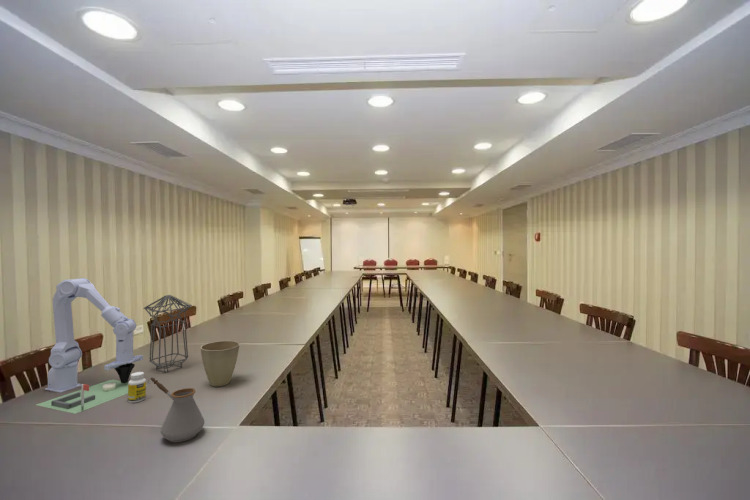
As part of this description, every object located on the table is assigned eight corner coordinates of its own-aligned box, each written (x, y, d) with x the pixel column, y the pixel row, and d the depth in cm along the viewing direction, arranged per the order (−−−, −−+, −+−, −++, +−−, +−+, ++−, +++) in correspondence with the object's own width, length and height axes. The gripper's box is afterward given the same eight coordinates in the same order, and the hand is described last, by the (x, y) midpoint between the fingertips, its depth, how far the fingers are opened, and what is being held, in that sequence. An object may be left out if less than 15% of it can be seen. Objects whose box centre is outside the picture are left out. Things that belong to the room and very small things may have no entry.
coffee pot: (212, 430, 105) (213, 381, 105) (177, 450, 95) (178, 395, 95) (167, 416, 114) (168, 371, 114) (130, 432, 104) (131, 383, 104)
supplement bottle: (136, 403, 124) (136, 376, 124) (124, 402, 125) (124, 375, 125) (149, 397, 129) (149, 371, 129) (137, 396, 130) (137, 370, 130)
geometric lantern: (194, 367, 164) (193, 294, 163) (159, 378, 150) (158, 298, 150) (176, 361, 172) (176, 291, 171) (142, 371, 159) (141, 295, 158)
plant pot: (191, 387, 139) (192, 347, 139) (220, 375, 153) (221, 339, 153) (219, 392, 134) (219, 351, 134) (246, 379, 147) (247, 342, 148)
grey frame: (51, 405, 121) (51, 380, 121) (78, 396, 129) (78, 372, 130) (85, 412, 116) (85, 386, 116) (111, 402, 124) (111, 377, 124)
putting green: (35, 405, 122) (35, 404, 122) (111, 380, 147) (111, 379, 147) (75, 414, 115) (75, 413, 115) (147, 386, 140) (147, 385, 140)
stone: (100, 390, 135) (100, 385, 135) (111, 387, 138) (112, 382, 138) (106, 392, 133) (106, 386, 133) (117, 388, 137) (117, 383, 137)
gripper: (113, 355, 133) (113, 390, 133) (148, 345, 147) (148, 377, 147) (100, 353, 136) (100, 388, 135) (136, 344, 149) (136, 375, 149)
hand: (124, 382), depth 141 cm, fingers closed
